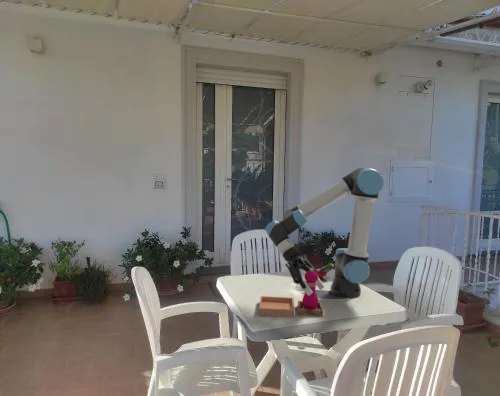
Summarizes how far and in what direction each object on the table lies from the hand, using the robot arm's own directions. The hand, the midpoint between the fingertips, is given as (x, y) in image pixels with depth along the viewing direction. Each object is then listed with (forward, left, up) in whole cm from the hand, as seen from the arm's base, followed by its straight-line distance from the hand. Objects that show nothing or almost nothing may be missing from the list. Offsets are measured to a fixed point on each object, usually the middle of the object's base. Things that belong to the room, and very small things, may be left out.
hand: (316, 291), depth 175 cm
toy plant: (-8, -54, -10) cm, 55 cm away
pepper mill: (+3, -2, -10) cm, 11 cm away
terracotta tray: (+18, -2, -10) cm, 20 cm away
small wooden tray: (+3, -2, -10) cm, 10 cm away
